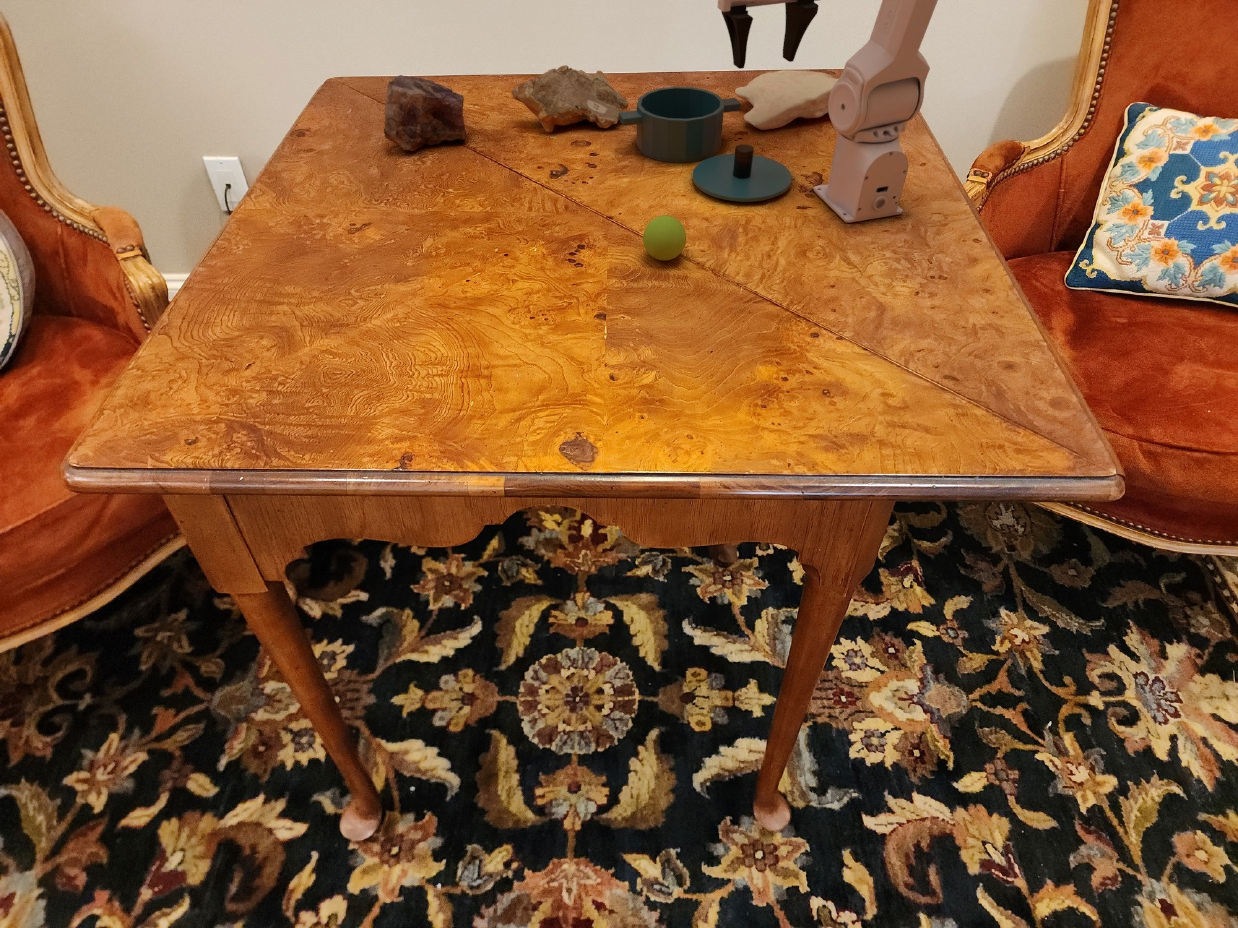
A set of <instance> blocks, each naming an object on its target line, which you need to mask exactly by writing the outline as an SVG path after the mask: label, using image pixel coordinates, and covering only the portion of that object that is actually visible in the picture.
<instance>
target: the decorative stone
mask: <svg viewBox="0 0 1238 928" xmlns="http://www.w3.org/2000/svg"><path fill="white" fill-rule="evenodd" d="M838 79H839V78H835V77H833V76H832V75H831V74H829V73H826V72H821V71H807V70H791V69H781V70H777V71H774V72H765V73H762V74H759V75H758V76H756V77H755V78H753V79H752V80H750V81H749V82H748V83H747V84H746V85H745V86H739V87H736V88H735V91H734V93H735V95H736V96H737V97H738V98H740V99H742V100H745V101H746V102H748V103H750V105H752V106H753V108H751V109H750V110H749V111H748V112H746V113H745V114H744V115H743V120H744V121H746V123H748V124H750V125H752V126H753V127H755V128H756V129H758V130H760V131H767V130H774V129H779V128H782V127H785V126H786V125H787V124H789V123H791V122H792V121H794V120H796V119H797V118H803V119H818V118H821V117H823V116H824V115H825V114H829V111H828V103H829V97H830V93H831V90H832V88H833V86H834V84H835V83H836V82H837V81H838Z"/></svg>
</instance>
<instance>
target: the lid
mask: <svg viewBox="0 0 1238 928" xmlns="http://www.w3.org/2000/svg"><path fill="white" fill-rule="evenodd" d="M754 151H755V148H754V146H753V145H750V144H746V143H743V144H738V145H736V146H735V148H734V153H725V154H718V155H713V156H711V157H709V158H707V159H704V160H701V162H700V161H699V163H697V164H696V166H695V167H694V168H693V170H692V175H691V176H692V177H691V178H692V181H693V184H694V185H695V186H696V187H697V189H699V190H700V191H702V192H703V193H704V194H707V195H708V196H711V197H714V198H717V199H720V200H726V201H732V202H740V203H741V202H746V203H747V202H749V203H750V202H759V201H766V200H769V199H770V200H771V199H773V198H775V197H778V196H780V195H782V194H784V193H786V191H788V189H789V188H790V187H791V185H792V177H793V176H792V173H791V171H790V170H789V169H788V168H787V167H786V166H785V165H784V164H782V163H781V162H779V161H777V160H775V159H772V158H769V157H767V156H762V155H757V154H754Z"/></svg>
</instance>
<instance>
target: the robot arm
mask: <svg viewBox="0 0 1238 928" xmlns="http://www.w3.org/2000/svg"><path fill="white" fill-rule="evenodd" d="M819 1H820V0H717V9H719V10H720V11H721V15H722V18H723V21H724V23H725V26H726V29H727V32H728V36H729V40H730V47H731V51H732V60H733V66H734V67H736V68H738V69H741V70H742V69H745V65H746V60H747V50H748V49H747V48H748V41H749V35H750V32H751V27H752V24H753V21H754V18H753V16H751V15H750V14H749V10H747V8H752V7H754V8H755V7H762V6H771V5H778V4H784V7H785V9H784V10H785V25H784V26H785V29H784V30H785V31H784V37H783V45H782V58H783V59H785V60H786V61H787V62H789V63H792V62H794V61H795V58H796V56H797V55H796V54H797V52H798V50H799V47H800V44H801V42H802V40H803V38H804V35H805V34H806V31H807V30H808V28H809V26H810V25H811V23H812V21H813V20H814V18H815V17H816V16H817V14H818V11H819V4H818V3H816V2H819ZM938 1H939V0H882V1H881V4H880V7H879V10H878V13H877V15H876V19H875V21H874V25H873V28H872V31H871V34H870V37H869V40H868V41H867V42H866V43H865V44H864V45H863V46H862V47H861V48H860V49H858V50H857V51H856V52H855V53H854V54H853V55H852V56H851V57H850V58H849V59H847V60H846V62H845V63H844V67H843V71H842V73H841V75H840V77H838V78H837V79H838V81H837V82H836V83H835V84H834V86H833V88H832V90H831V93H830V97H829V103H828V111H829V113H828V117H829V119H830V122H831V124H832V126H833V130H834V131H835V132H837V136H836V140H835V146H834V150H833V156H832V161H831V166H830V172H829V176H828V181H827V184H820V185H815V186H813V188H812V189H813V190H812V191H813V192H814V193H815V194H816V195H817V196H819V198H820V199H821V200H822V201H823V202H825V204H826V205H827V206H829V207H830V209H831V210H832V211H833V212H835V213H836V215H837V216H838V217H839V218H841V219H842V220H843V222H845V223H849V224H851V223H856V222H862V221H867V220H873V219H874V220H875V219H879V218H880V219H881V218H885V217H891V216H899V215H901V214H903V212H904V210H903V208H901V207H900V205H899V204H900V201H901V197H902V194H903V191H904V185H905V183H906V179H907V174H908V171H909V160H908V157H907V155H906V154H905V153H904V151H903V149H902V147H901V143H900V134H901V133H904V132H905V131H906V128H907V124H908V122H910V121H912V120H913V119H914V118H916V116H917V115H918V114H919V112H920V111H921V109H922V106H923V103H924V97H925V86H926V85H925V84H926V80H927V77H928V75H929V73H930V71H931V67H930V65H929V63H928V61H927V60H926V58H925V56H924V55H923V53H921V51H920V48H921V45H922V42H923V40H924V37H925V34H926V32H927V29H928V28H929V24H930V22H931V19H932V16H933V14H934V12H935V9H936V6H937V3H938Z"/></svg>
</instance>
